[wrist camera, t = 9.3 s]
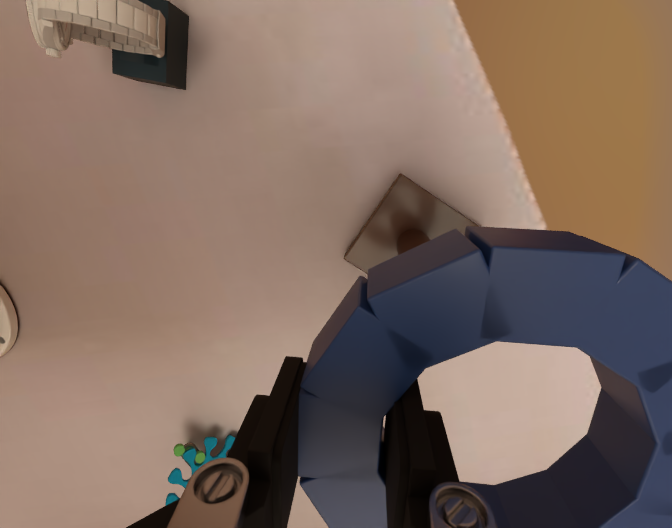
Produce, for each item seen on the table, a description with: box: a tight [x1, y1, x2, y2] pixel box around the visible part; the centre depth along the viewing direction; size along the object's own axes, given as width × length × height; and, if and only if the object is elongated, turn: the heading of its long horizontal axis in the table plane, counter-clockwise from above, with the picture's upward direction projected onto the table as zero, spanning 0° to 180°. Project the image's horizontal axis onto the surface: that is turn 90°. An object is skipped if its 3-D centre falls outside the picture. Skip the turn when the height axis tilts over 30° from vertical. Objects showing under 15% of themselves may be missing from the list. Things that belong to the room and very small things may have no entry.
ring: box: [298, 226, 672, 528], centre depth 11 cm, size 12×12×2 cm
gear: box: [166, 435, 235, 505], centre depth 41 cm, size 11×6×10 cm
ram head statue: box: [26, 0, 189, 90], centre depth 25 cm, size 6×8×11 cm
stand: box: [344, 174, 479, 274], centre depth 27 cm, size 9×9×13 cm
